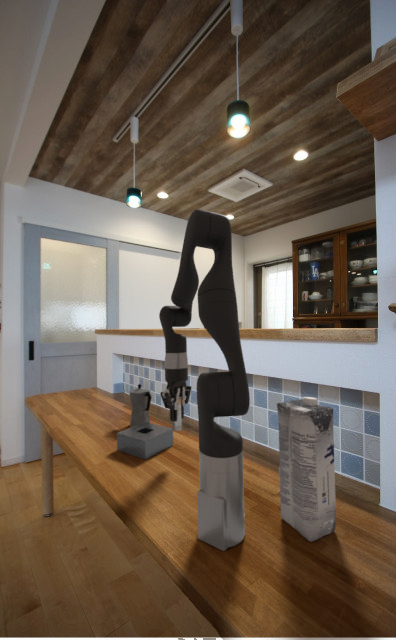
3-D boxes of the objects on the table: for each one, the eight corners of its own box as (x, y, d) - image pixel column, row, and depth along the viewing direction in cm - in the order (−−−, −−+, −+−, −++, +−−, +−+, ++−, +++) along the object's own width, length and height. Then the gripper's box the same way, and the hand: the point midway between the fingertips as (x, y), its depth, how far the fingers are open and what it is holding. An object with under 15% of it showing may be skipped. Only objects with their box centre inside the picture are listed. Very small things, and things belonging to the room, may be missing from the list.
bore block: (145, 459, 95) (145, 441, 95) (117, 449, 103) (117, 432, 103) (173, 445, 106) (172, 428, 107) (145, 437, 114) (145, 422, 115)
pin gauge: (177, 431, 93) (177, 399, 93) (171, 429, 94) (170, 398, 95) (183, 428, 95) (183, 397, 95) (176, 427, 97) (176, 396, 97)
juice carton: (311, 548, 56) (307, 406, 57) (274, 517, 65) (271, 396, 66) (343, 533, 60) (339, 401, 60) (304, 505, 69) (301, 391, 70)
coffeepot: (123, 424, 131) (122, 383, 132) (141, 419, 138) (140, 381, 138) (141, 432, 120) (140, 388, 120) (160, 427, 126) (159, 385, 127)
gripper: (171, 369, 88) (172, 427, 87) (197, 364, 99) (198, 416, 98) (153, 368, 92) (153, 423, 91) (180, 363, 103) (181, 412, 103)
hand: (177, 419), depth 95 cm, fingers closed on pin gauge, 2 cm apart
